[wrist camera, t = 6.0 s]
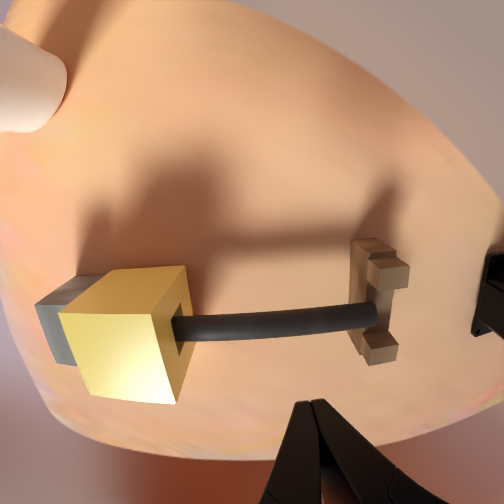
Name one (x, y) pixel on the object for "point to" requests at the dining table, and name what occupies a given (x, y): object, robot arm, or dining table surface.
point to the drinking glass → (28, 83)
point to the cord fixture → (276, 322)
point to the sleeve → (131, 334)
